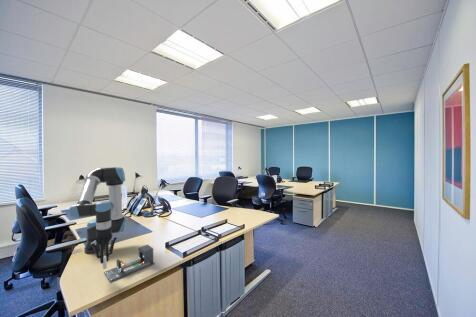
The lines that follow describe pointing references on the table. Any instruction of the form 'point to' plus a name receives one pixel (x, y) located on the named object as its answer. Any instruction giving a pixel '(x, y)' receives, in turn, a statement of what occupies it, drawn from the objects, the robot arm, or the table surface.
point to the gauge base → (146, 261)
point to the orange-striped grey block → (127, 263)
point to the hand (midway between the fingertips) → (104, 267)
